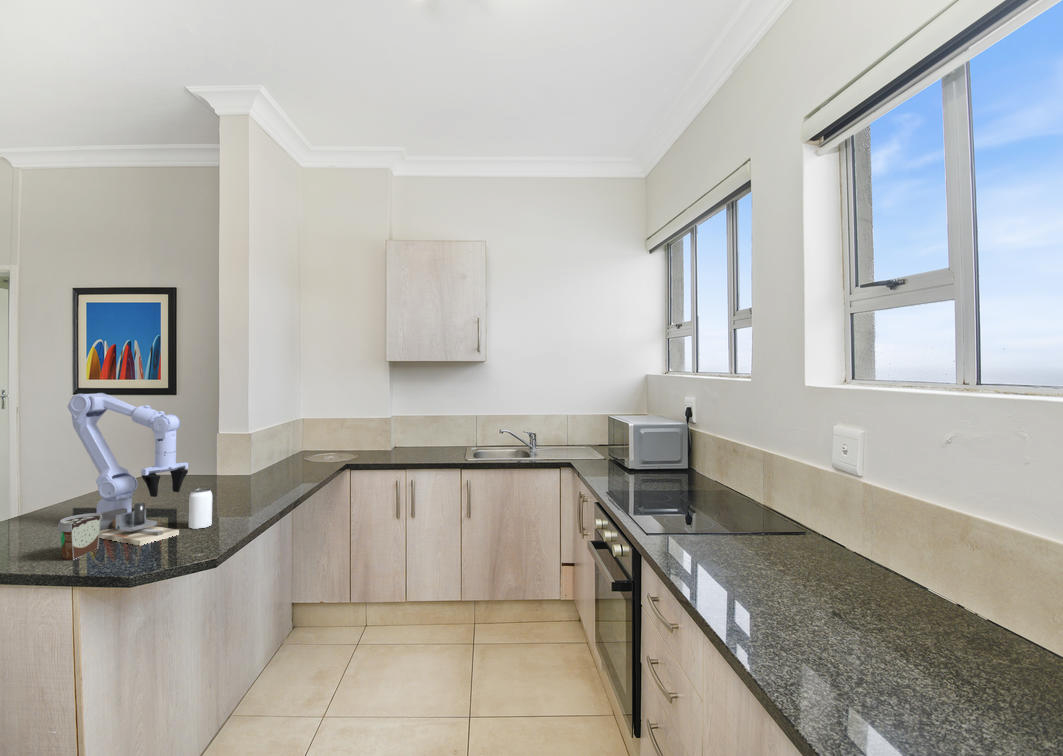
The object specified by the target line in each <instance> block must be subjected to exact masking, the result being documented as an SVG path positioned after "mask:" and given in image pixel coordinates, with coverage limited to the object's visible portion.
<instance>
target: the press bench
mask: <svg viewBox="0 0 1063 756" xmlns="http://www.w3.org/2000/svg"><path fill="white" fill-rule="evenodd" d="M124 513H127V509H125V508H121V509H117V510H112V511H107V512H102V513H101V515H102V520H101V523H100V534H99V538H102V539H107V540H106V541H108V540H112V541H111V542H114V541H117V542H116V543H120V542H121V544H126V543H128V544H127V545H132V544H133V545H132V546H138V545H139V547H141V546H144V544H145V545H148V544H151V542H152V543H155V542H154V541H156V542H158V541H159V542H160V541H163V540H166V539H170V538H173V537H176V535H177V536H180V529H176V528H175V529H174V528H168V527H162V526H157V525H155V526H151V527H147V528H143V529H139V530H135V531H131V532H129V531H123V530H117V529H116V515H119V514H124ZM172 536H173V537H172ZM169 537H170V538H169ZM102 539H101V540H102ZM162 539H163V540H162ZM147 543H148V544H147Z"/></svg>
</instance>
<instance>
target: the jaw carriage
mask: <svg viewBox="0 0 1063 756" xmlns="http://www.w3.org/2000/svg"><path fill="white" fill-rule="evenodd" d="M157 525H158V521H157V520H151V519H147V509H146V503H145V502H136V503H134V508H133V511H132V512H128V513H124V514H119V515H116V529H117V530H123V531H129V532H131V531H135V530H139V529H143V528H147V527H151V526H157Z"/></svg>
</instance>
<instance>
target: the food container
mask: <svg viewBox="0 0 1063 756" xmlns="http://www.w3.org/2000/svg"><path fill="white" fill-rule="evenodd" d="M101 520H102V515H101V513H97V512H91V513H82V514H75V515H71V516H68V517H67V516H66V517H64V518H62V519H60V521H59V522H58V524H57V528H56V530H57V531H59V533H60V543H61V557H62V559H63V560H64V559H66V560H65V561H70V560H73V561H75V559H76V560H78V559H80V558H82V557H83V556H82V555H84V554H87V553H89V552H91V551H93V550H96V549H98V550H99V542H100V539H99V534H100V523H101ZM96 551H97V550H96ZM91 553H92V552H91ZM89 554H90V553H89ZM87 555H88V554H87ZM81 556H82V557H81ZM79 557H80V558H79ZM77 558H78V559H77Z"/></svg>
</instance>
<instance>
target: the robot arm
mask: <svg viewBox="0 0 1063 756" xmlns="http://www.w3.org/2000/svg"><path fill="white" fill-rule="evenodd" d="M69 400H70V401H69V402H68V404H67V409H68V411H69V412H70V414H71V421H72V427H73V429H74V430H75V433H76V434H77V437H78V438H79V440H80V442H81V443H82V446H83V447H84V449H85V451H86V452H87V454H88V456H89V458H90V459H91V461H92V464H93V465H94V467H95V468H96V471H98V476H97V478H96V480H95V482H96V484H97V491H98V494H99V496H100V497H101V499H100V500H98V502H97V504H96V513H102V512H107V511H112V510H117V509H121V508H125V509H127V513H128V512H133V511H132V508H133V507H132V505H133V495H134V492H135V491H136V490H137V488H138V480H137V478H136V477H135V476H133V475H132V474H131V473H130V471H129V470H128V469H127V468H124V467H122V466H120V464H119V462H118V461H117V459H116V458H115V455H114V454H113V452H112V450H111V449H110V446H109V444H108V443H107V441H106V439H105V437H104V436H103V434H102V432H101V430H100V428H99V427H98V425H97V423H98V421H99V420H100V419H101V418H102V416H104V414H105V413H106V412H107V411H108V410H109V411H112V412H115V413H118V414H121V415H125V416H128V417H130V418H131V420H132V422H133V423H136V424H138V425H141V426H144V427H147V428H149V429H151V430H152V432H153V434H154V435H153V436H154V438H155V439H154V442H155V443H154V465H153V466H149V467H146V468H141V469H140V472H141V473H140V475H141V478H142V480H143V481H144V483H145V484H146V487H147V489H148V491H149V495H150V497H152V498H156V497H158V493H159V492H158V491H159V482H160V479H161V475H159V473H167V472H170V475H171V480H172V492H173V493H179V492H180V491H181V488H182V484H183V482H184V479H185V478H186V476H187V474H188V473H189V470H188V469H189V462H177V431H178V430H179V429H180V427H181V420H180V418H179V417H178V416H177V415H175V414H173V413H169V414H165V411H162V410H159V411H158V410H155V409H153V408H152V407H151V405H148V404H145V405H139V406H138V407H137V406H135V405H133V404H130V403H127V402H126V401H123V400H121V399H119V398H116V397H115V396H113V395H110V394H106V393H104V392H97V393H77V394H74V395H73V396H72V397H71V398H70V399H69Z"/></svg>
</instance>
